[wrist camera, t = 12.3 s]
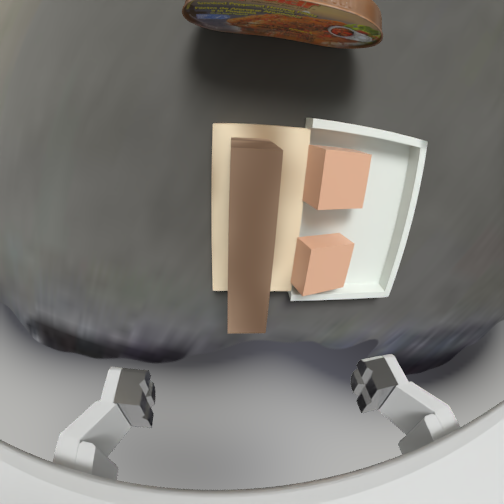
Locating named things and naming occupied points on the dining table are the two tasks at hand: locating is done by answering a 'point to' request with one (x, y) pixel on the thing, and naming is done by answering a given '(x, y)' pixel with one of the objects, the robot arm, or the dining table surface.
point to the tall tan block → (252, 231)
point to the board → (290, 197)
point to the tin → (293, 20)
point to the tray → (369, 207)
